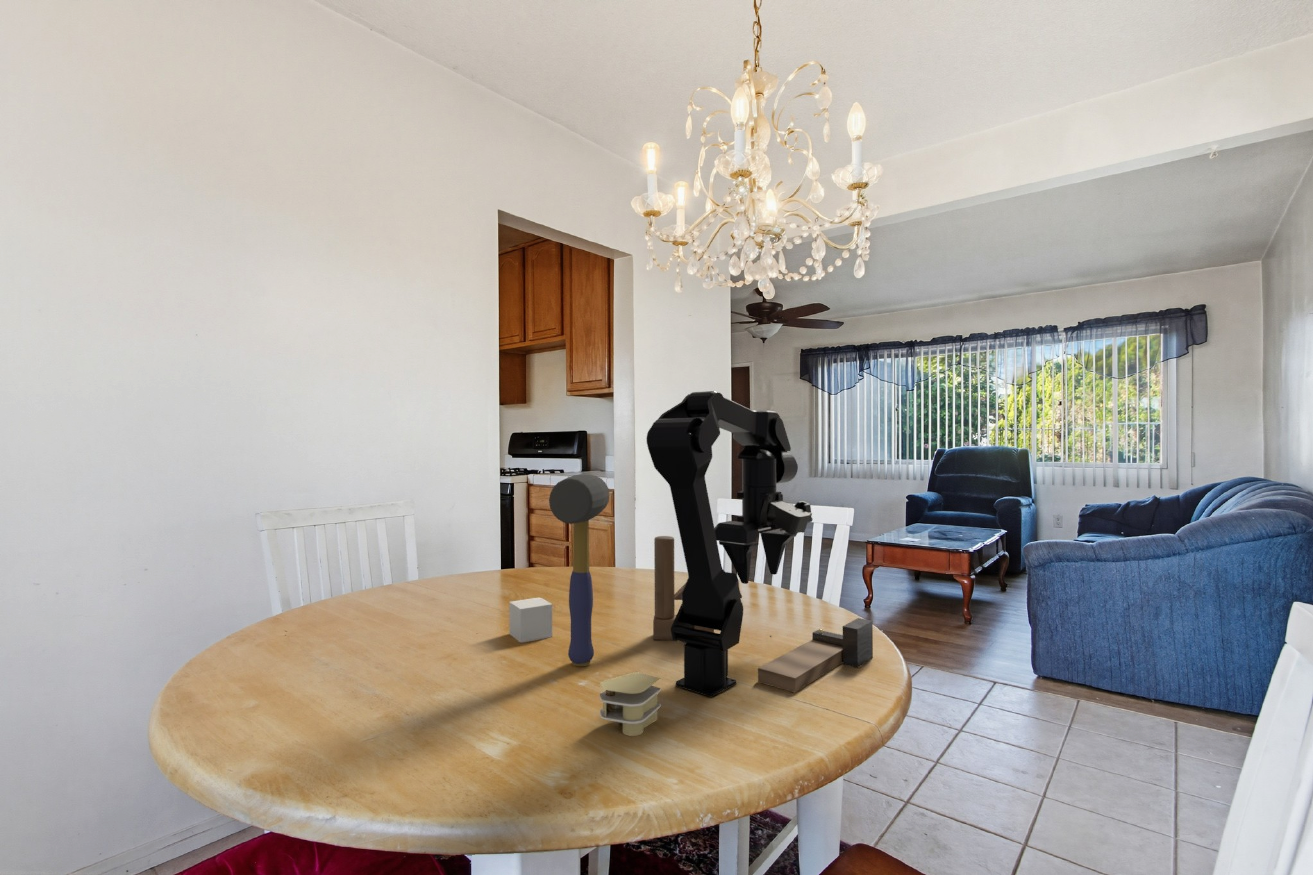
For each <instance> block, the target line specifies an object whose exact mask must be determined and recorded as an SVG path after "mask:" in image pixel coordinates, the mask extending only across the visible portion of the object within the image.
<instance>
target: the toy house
mask: <svg viewBox="0 0 1313 875" xmlns="http://www.w3.org/2000/svg"><path fill="white" fill-rule="evenodd" d="M659 680H661V677H658V676H655V675H652V674H646V673H643V672H639V671H633V672H631V673H626V674H623V675H619V676H617V677H613V678H609V679H605V680H604V681H602V682H600V683H599V686H600V689H601V690H603V691H602V692H600V693H599V699H600V701H601V702H602V709H599V716H600V718H601V719H602V720H605V721H612V722H616V723H618V725H620V724H622V733H623V734H624V735H626V736H629V737H636V736H640V735H642V734H643V733H644V729H645V728H647V727H649V726H650V725H652V724H653V723H654V722H656V721H657V720H658V710H659V709H660V708H661V707H662V706H661V705H662V704H661V703H658V693H660V692H661V691H662V690H661V687H657V686H655V685H654V684H655V683H657V682H658V681H659Z"/></svg>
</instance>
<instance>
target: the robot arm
mask: <svg viewBox="0 0 1313 875" xmlns="http://www.w3.org/2000/svg"><path fill="white" fill-rule="evenodd" d="M720 429H722V430H724V431H727V432H730V433H731V434H733V435H732V438H733V440H734V441H736V442H737V443H738V444H740V445H741V447H742V448H743V449H742V450H741V451H740V452H739V453H738V454H737V459H738V460H741V480H742V481H741V491H737V492H736V494H737V495H736V498H737V499H741V500H742V501H741V502H742V504H741V512H742V514H741V515H738V516H737V517H736V520H737V521H735V520H728V521H722V522H719V523H717V524H716V526H715V525H714V520H713V518H714V517H713V514H712V508H711V503H710V498H709V493H708V487H707V483H706V474H707V471H708V469H709V466H710V464H711V462H712V459H713V448H712V446H714V443H715V442H717V440H718V438H719V437H720V435H721V430H720ZM646 445H647V449H648V453H649V455H650V459H651V462H652V464H653V467H654V469H655V470H656V471H657V472H658V474H660V476H662V478H663V479H664V480H665V481H666V483H667V484H668V486H669V488H670V493H671V498H672V502H673V508H674V512H675V513H674V514H675V518H676V522H677V528H678V532H679V537H680V542H681V546H682V551H683V556H684V562H685V566H686V569H687V576H688V577H687V580H686V582H685V583H686V584H685V583H684V584H685V586H684V589H683V591H682V600H681V601H682V602H681V604H680V606H679V609H678V610H677V613H676V614H675V615H676V618H675V620H674V622H673V624H672V627H671V633H672V638H673V640H672V641H674V642H680V643H684V644H683V677H682V678H679V679H678V680H675V686H676V687H679V688H682V689H685V690H688V691H691V692H695V693H697V694H700V695H702V696H707V697H710V698H711V697H715V696H716V695H719V694H720V693H721V692H724V691H725V690H727V689H729V688H731V687H733V686H735V685H736V684H737V679H735V678H731V677H728V675H729V649H731V648H733V647H734V646H736V645H737V644H739V643H740V638H741V632H742V631H741V630H742V624H743V618H744V605H743V602H742V600H741V599H742V598H743V596H742V593H741V591H740V584H739V582H741V584H746V585H748V584H749V580H750V573H751V559H752V553H753V551H754V550H755V549H756V547H757V546H758V545H759V543H758V542H757V540H758V538H759V534H760V539H761V542H762V543H761V544H762V546H763V551H764V555H765V560H766V563H767V567H768V570H769V573H770V575H777V574H778V571H779V568H780V565H781V560H782V557H783V555H784V551H785V548H786V547H787V546H786V545H787V544H788V543H789V542H790V541H791V540H792V539H793V538H795V537H797V534H799V533H801V534H803V533H805V532H806V529H807V526H808V523H812V522H813V512H812V508H811V504H810V503H809V502H806V501H805V500H802V501H801V500H800V501H798V502H796V503H795V504H793V503H788V502H785V501H784V495H783V493H782V491H777V484H784V483H789V482H791V481H792V480H793V479H795V478H796V475H797V473H798V470H799V469H798V468H799V467H798V466H799V464H798V463H797V459H796V458H795V456H794V455H793V454H791V453H790V452H791V450H792V448H791V445H790V440H789V438H788V434H787V430H786V427H785V424H784V421H783V419H782V418H781V416H780V414H779V413H778V412H777V411H774V410H754V409H753V410H752V409H751V408H749V407H746V406H744V405H742V404H740V403H738V402H736V401H733V400H731V399H729V398H727V397H725V396H724V395H723V394H722V393H721V392H717V391H715V390H711V391H694V392H691V393H689V394H687V395H686V396H685V397H684V398H683V399H682V401H681V402H679V403H678V404H676V405H674V406H673V407H671V408H670V409H668V410H666V411H665V412H663V413H662V414H660V415H659V417H658V418H657V419H655V421H654V422H653V423H652V425H651V426H650V428H649V429H648V431H647V433H646ZM717 541H718V542H717ZM718 544H719V545H720V546H722V548H723V549H724V551H725V553H726V554H727V556H728V559H729V560H730V562H731V563H732V566H733V568H734V570H735V572H736V573H735V572H729V571H727V572H726V571H725V570H724V569H723V565H722V561H721V555H720V551H719V545H718ZM694 626H698V627H703V628H709V629H714V631H719V633H718V632H714V633H713V632H708V631H703V630H698V629H693V627H694Z"/></svg>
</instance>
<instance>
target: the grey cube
mask: <svg viewBox="0 0 1313 875" xmlns="http://www.w3.org/2000/svg"><path fill="white" fill-rule="evenodd" d="M508 605H509V607H508V608H509V609H508V610H509V611H508V612H509V617H508V618H509V620H508V621H509V623H508V625H509V626H508V627H509V635H510V636H511V637H512V638H514V639H515V640H517V642H519V643H520V644H521V643H527V642H533V641H539V640H544V639H550V638H553V604H552V603H551V602H550V601H547V600H545V599H544V598H542V597H533V598H525V599H521V600H520V599H519V600H513V601H509V602H508Z"/></svg>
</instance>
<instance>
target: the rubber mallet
mask: <svg viewBox="0 0 1313 875" xmlns="http://www.w3.org/2000/svg"><path fill="white" fill-rule="evenodd" d="M610 495H611V494H610V489H609V487H608V485H607V483H606V482H605V481H604V480H603V478H601V477H600V476H598V475H595V474H585V473H582V474H574V475H571V476H568V477H566V478H564V479H562V480H560V481H558V482H557V483H556V484H555V485H554V486H553V487H552V489H551V492H550V493H549V497H548V498H549V499H548V504H549V508H550V511H551V513H552V515H553V516H554V517H555V518H556V519H557V520H558V521H560V522H562V523H564V524H569V525H572V524H573V526H572V527H573V528H572V529H573V532H572V533H573V534H572V535H573V537H572V538H573V540H572V543H573V544H572V545H573V546H572V547H573V549H572V571H571V574H570V578H569V580H570V581H569V589H568V590H569V591H568V609H569V616H570V642H569V646H568V653H567V654H568V659H569V661H571V664H572V665H573V666H576V667H584V666H589V665H590V664H591V661H592V659H593V658H594V655H595V651H594V650H595V649H594V646H593V645H594V644H593V642H592V641H593V640H592V617H593V607H594V591H593V581H592V575H591V571H590V526H589V525H590V524H589V523H590V522H589V521H590V520H592V519H594V518H596V517H597V516H599V515H600V514H601V513H602V512H603V511H604V510H605V509H606V508H607V505H608V504H609V501H610Z"/></svg>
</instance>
